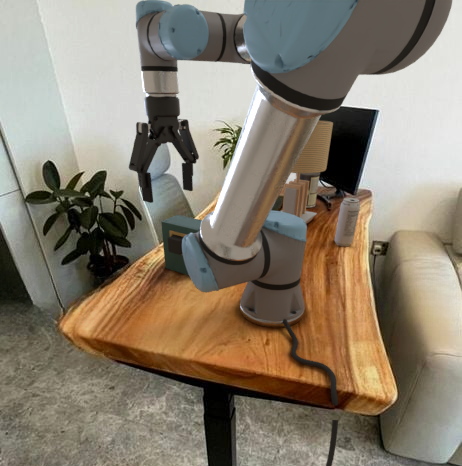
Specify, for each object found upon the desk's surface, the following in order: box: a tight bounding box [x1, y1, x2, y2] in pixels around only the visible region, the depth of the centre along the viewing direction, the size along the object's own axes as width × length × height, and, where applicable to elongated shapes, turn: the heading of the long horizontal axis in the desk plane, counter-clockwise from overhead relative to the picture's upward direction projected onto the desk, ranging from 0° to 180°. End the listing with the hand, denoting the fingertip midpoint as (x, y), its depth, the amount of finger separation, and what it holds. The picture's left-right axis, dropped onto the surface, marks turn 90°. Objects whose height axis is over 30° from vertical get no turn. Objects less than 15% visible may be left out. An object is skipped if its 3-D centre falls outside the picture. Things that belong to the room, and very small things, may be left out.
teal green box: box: [160, 214, 203, 276], centre depth 98 cm, size 7×12×14 cm, turn 59°
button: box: [168, 235, 183, 255], centre depth 95 cm, size 5×4×4 cm
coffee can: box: [295, 172, 321, 209], centre depth 156 cm, size 10×10×14 cm
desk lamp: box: [279, 119, 334, 225], centre depth 130 cm, size 20×20×35 cm
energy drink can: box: [334, 197, 361, 247], centre depth 116 cm, size 6×6×15 cm
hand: (169, 195), depth 86 cm, fingers open, 13 cm apart
